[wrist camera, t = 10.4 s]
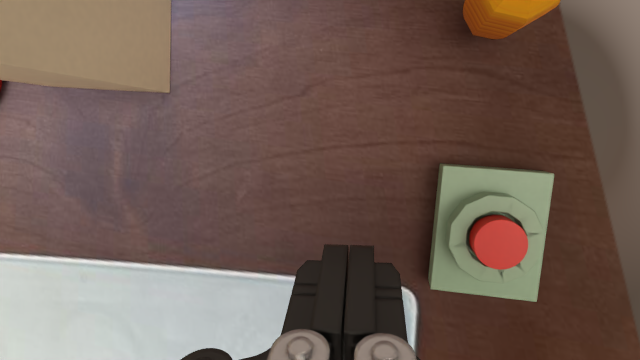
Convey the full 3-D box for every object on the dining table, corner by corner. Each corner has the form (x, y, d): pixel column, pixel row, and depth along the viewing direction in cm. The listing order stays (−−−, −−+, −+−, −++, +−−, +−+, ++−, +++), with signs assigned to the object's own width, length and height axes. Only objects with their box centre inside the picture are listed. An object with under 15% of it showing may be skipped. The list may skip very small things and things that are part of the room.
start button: (523, 216, 30) (531, 222, 28) (517, 264, 30) (524, 272, 28) (471, 212, 30) (476, 217, 29) (466, 259, 31) (471, 266, 29)
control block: (543, 170, 32) (564, 176, 28) (527, 291, 34) (545, 312, 30) (439, 163, 34) (446, 167, 30) (427, 279, 35) (432, 298, 31)
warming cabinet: (171, -24, 36) (-67, -195, 17) (170, 93, 37) (-53, 54, 18) (50, -25, 37) (-286, -179, 19) (52, 86, 39) (-260, 45, 20)
